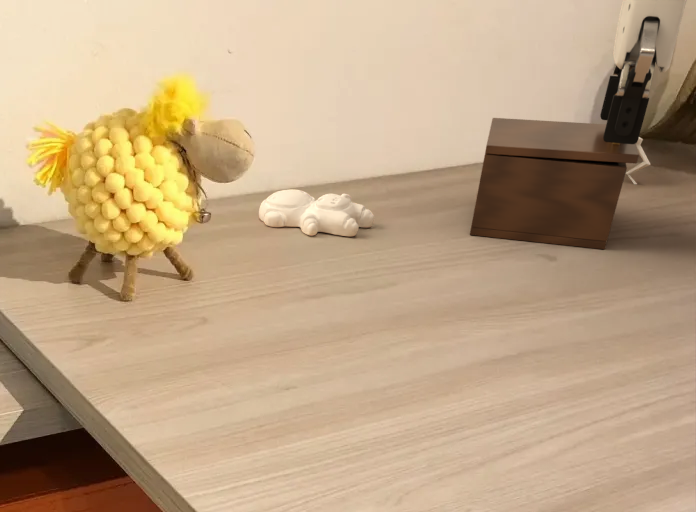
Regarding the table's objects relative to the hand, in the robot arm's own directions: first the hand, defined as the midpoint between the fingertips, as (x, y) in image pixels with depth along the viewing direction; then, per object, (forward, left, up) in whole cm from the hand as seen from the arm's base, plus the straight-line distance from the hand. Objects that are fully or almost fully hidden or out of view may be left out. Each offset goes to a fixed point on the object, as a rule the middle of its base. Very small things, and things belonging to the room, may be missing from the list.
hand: (617, 131), depth 104 cm
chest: (+6, 0, -10) cm, 11 cm away
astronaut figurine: (+29, +8, -10) cm, 31 cm away
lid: (+5, 0, -2) cm, 5 cm away
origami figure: (-3, -23, -10) cm, 26 cm away
